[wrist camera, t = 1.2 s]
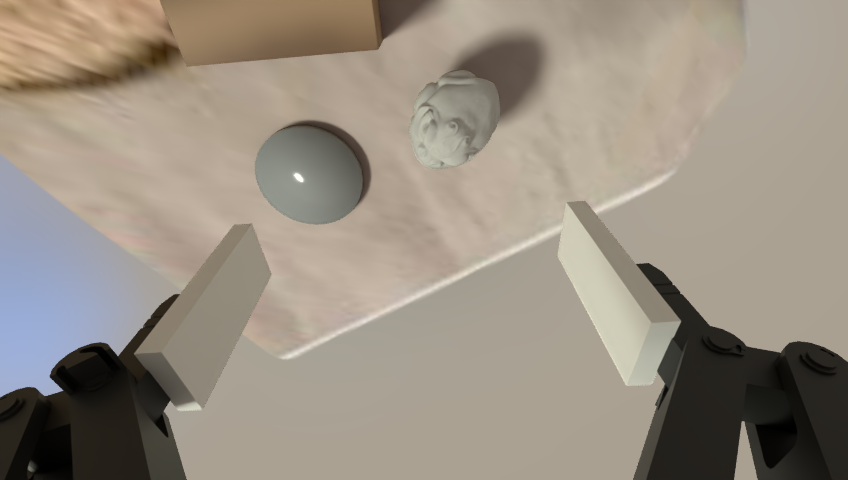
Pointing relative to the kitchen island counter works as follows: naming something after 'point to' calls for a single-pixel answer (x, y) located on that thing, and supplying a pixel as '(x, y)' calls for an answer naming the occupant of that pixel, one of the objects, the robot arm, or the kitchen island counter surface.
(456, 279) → the kitchen island counter surface
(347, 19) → the walnut block
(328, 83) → the kitchen island counter surface
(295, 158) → the grey oval dome
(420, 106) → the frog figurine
